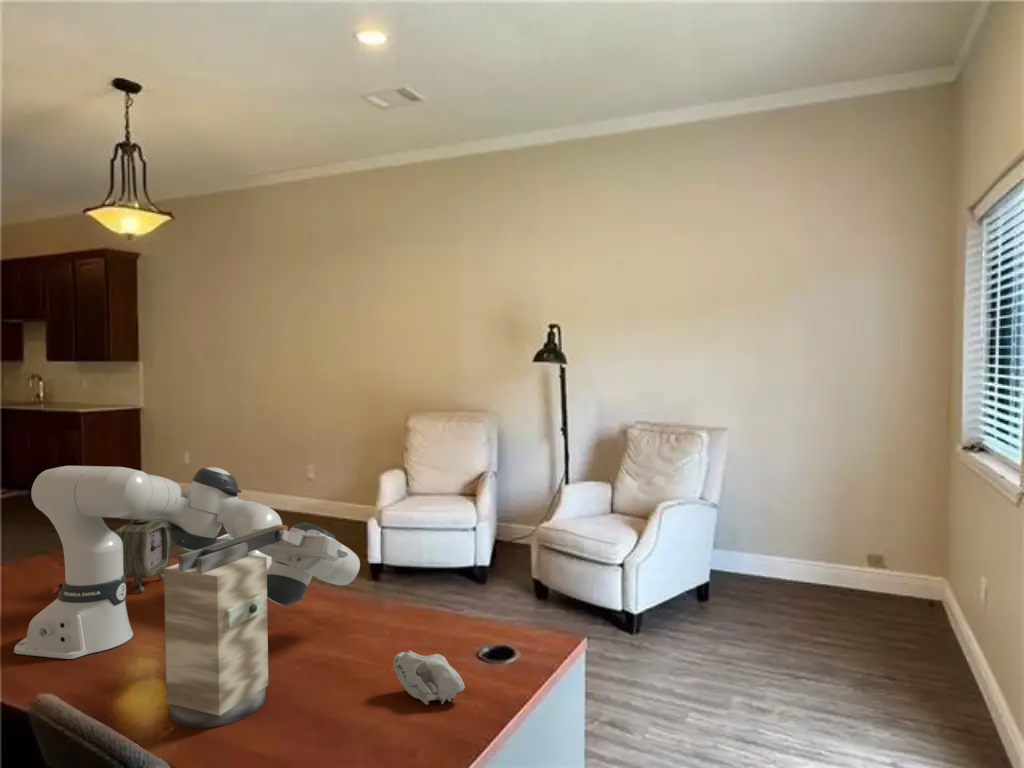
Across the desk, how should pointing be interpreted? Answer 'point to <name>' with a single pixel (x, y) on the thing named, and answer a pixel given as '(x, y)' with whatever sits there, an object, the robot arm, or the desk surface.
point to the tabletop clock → (145, 549)
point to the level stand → (216, 636)
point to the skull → (427, 676)
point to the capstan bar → (251, 540)
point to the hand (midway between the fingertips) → (272, 533)
